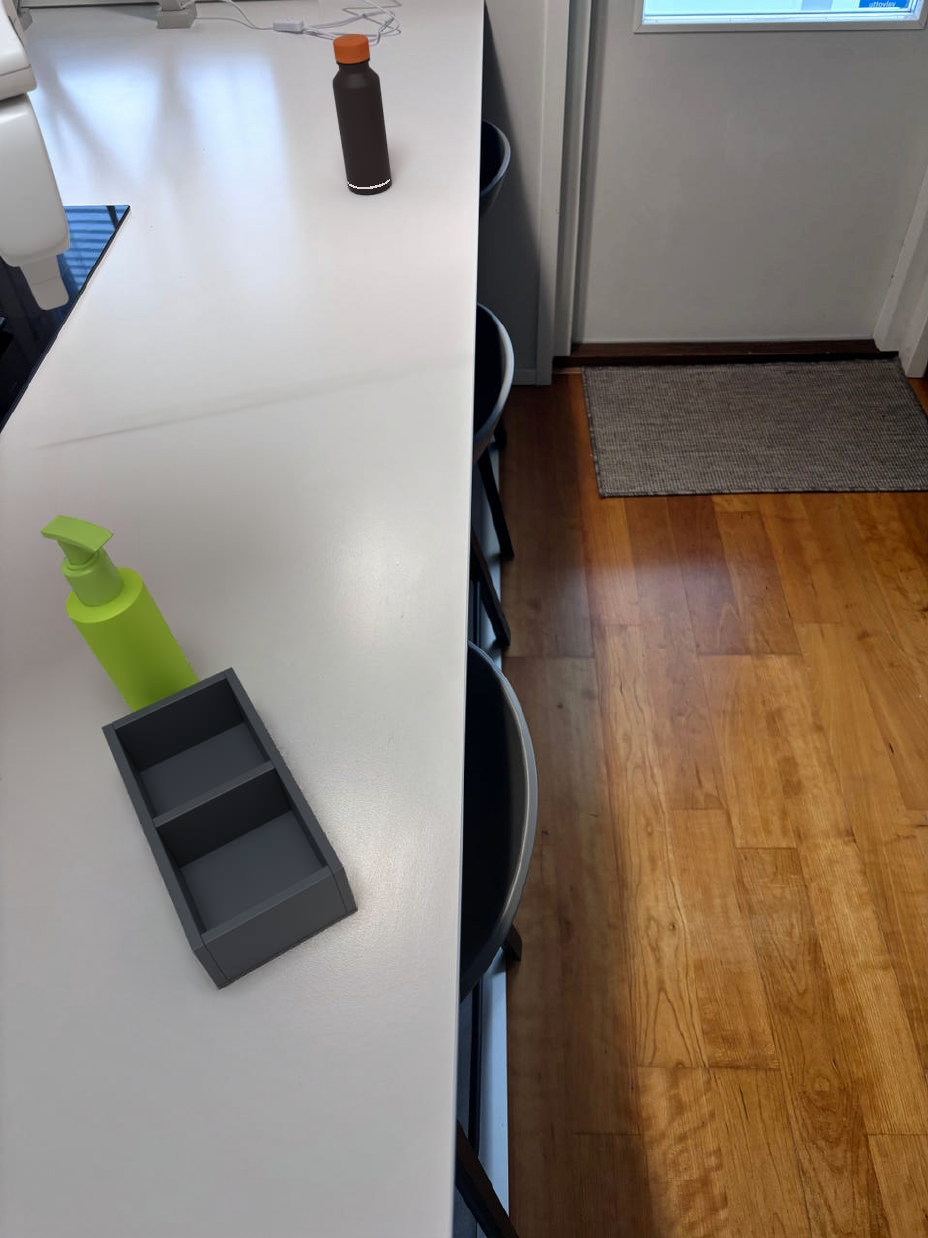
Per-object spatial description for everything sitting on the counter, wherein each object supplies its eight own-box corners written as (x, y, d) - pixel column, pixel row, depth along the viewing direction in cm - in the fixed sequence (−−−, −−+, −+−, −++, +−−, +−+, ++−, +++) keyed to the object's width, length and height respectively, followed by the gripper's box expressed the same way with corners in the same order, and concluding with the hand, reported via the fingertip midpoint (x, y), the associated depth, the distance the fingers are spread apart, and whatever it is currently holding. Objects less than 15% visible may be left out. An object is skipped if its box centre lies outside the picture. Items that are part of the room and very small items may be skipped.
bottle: (344, 180, 147) (322, 35, 132) (387, 172, 148) (370, 28, 133) (351, 198, 143) (329, 51, 128) (395, 191, 144) (378, 43, 129)
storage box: (218, 990, 64) (192, 951, 59) (129, 773, 76) (100, 727, 72) (358, 910, 67) (344, 868, 63) (250, 714, 80) (231, 666, 75)
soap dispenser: (182, 741, 77) (72, 564, 63) (121, 717, 80) (2, 542, 66) (225, 689, 81) (130, 509, 66) (165, 667, 84) (61, 490, 69)
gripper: (-158, -9, 55) (-48, 223, 65) (-104, 95, 43) (21, 360, 53) (-47, -33, 57) (43, 197, 67) (35, 61, 45) (130, 324, 55)
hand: (34, 270), depth 60 cm, fingers open, 8 cm apart
